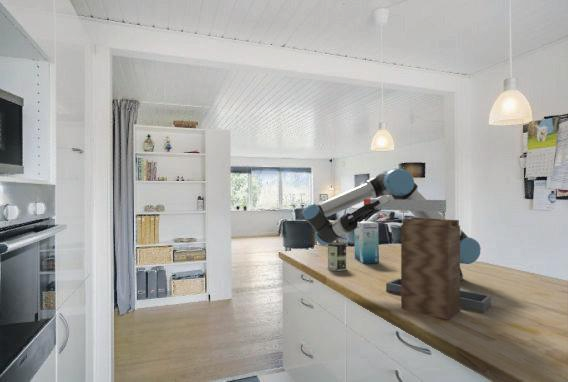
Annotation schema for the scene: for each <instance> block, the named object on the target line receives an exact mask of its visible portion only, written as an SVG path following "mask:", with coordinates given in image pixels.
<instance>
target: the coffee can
mask: <svg viewBox="0 0 568 382" xmlns="http://www.w3.org/2000/svg"><path fill="white" fill-rule="evenodd" d="M327 269H328V270H329V271H333V272H334V271H335V272H336V271H337V272H343V271H346V270H347V243H346V242H342V241H334V242H333V243H330V244H328V245H327Z"/></svg>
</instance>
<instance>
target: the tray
mask: <svg viewBox="0 0 568 382" xmlns="http://www.w3.org/2000/svg"><path fill="white" fill-rule="evenodd" d="M385 291H386V292H388V293H392V294H396V295H401V278H396V279H393V280H390V281H388V282H386V288H385ZM491 306H492V295H488V294H483V293H477V292H472V291H467V290H461V289H460V309H464V310H467V311H468V310H469V311H472V312H477V313H482V314H484V313H485V312H486V311H487V310H488V309H489V308H490V307H491Z"/></svg>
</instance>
